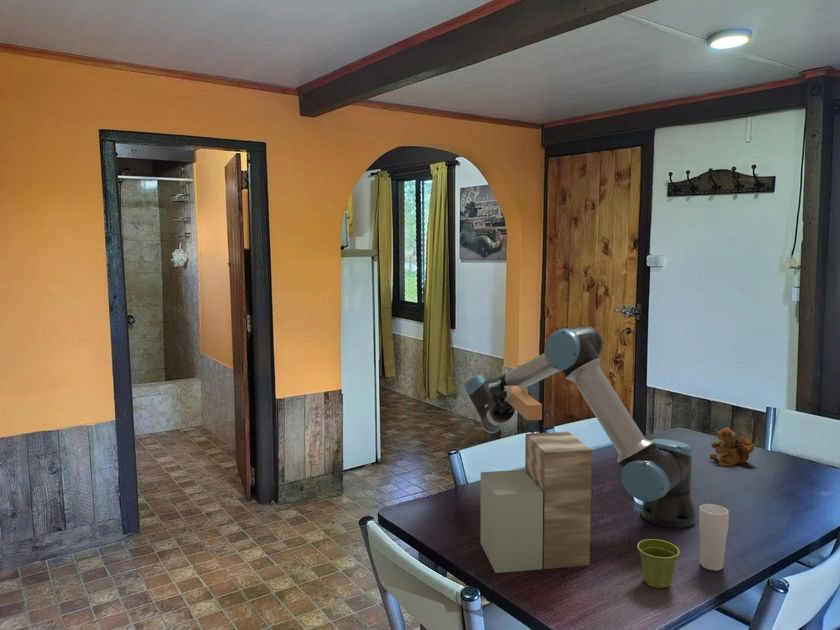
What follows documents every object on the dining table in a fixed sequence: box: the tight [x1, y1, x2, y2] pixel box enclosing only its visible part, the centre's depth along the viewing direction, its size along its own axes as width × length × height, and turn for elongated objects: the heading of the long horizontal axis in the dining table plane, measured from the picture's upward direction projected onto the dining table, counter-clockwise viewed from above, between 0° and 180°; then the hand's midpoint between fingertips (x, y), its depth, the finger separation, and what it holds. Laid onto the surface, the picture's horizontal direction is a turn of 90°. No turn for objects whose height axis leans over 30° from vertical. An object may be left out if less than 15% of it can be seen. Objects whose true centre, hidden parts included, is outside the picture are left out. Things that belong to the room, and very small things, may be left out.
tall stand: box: [524, 431, 593, 570], centre depth 164 cm, size 16×12×30 cm
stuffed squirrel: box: [709, 426, 756, 467], centre depth 233 cm, size 10×14×13 cm
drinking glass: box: [697, 503, 730, 572], centre depth 157 cm, size 7×7×15 cm
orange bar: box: [504, 386, 543, 421], centre depth 178 cm, size 24×4×4 cm, turn 7°
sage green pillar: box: [480, 469, 543, 574], centre depth 163 cm, size 16×12×20 cm
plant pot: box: [636, 538, 680, 589], centre depth 150 cm, size 9×9×9 cm
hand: (518, 389), depth 181 cm, fingers closed on orange bar, 4 cm apart
